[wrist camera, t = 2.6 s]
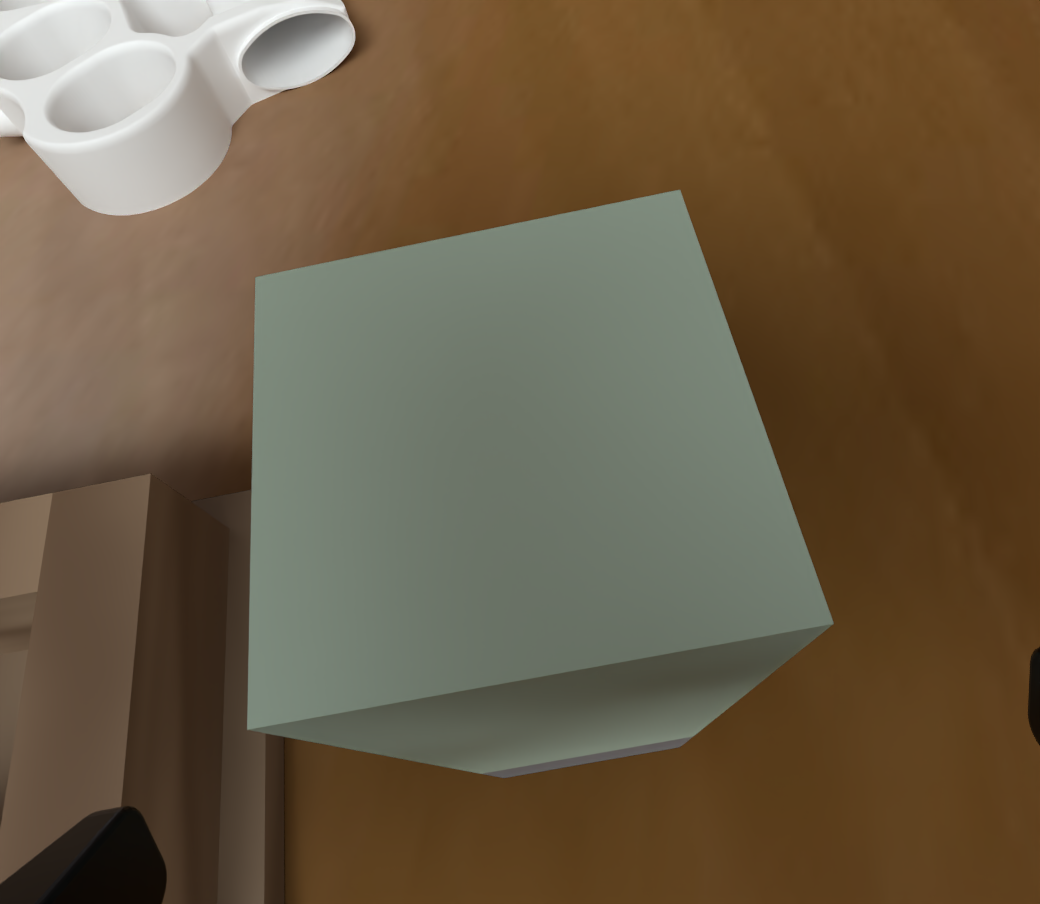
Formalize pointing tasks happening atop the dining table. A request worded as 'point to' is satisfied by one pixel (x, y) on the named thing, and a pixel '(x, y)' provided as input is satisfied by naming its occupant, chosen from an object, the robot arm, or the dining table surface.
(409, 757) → the sage green square pillar
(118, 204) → the white brass knuckles
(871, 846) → the dining table surface
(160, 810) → the wooden socket base
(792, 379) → the dining table surface
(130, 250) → the dining table surface
